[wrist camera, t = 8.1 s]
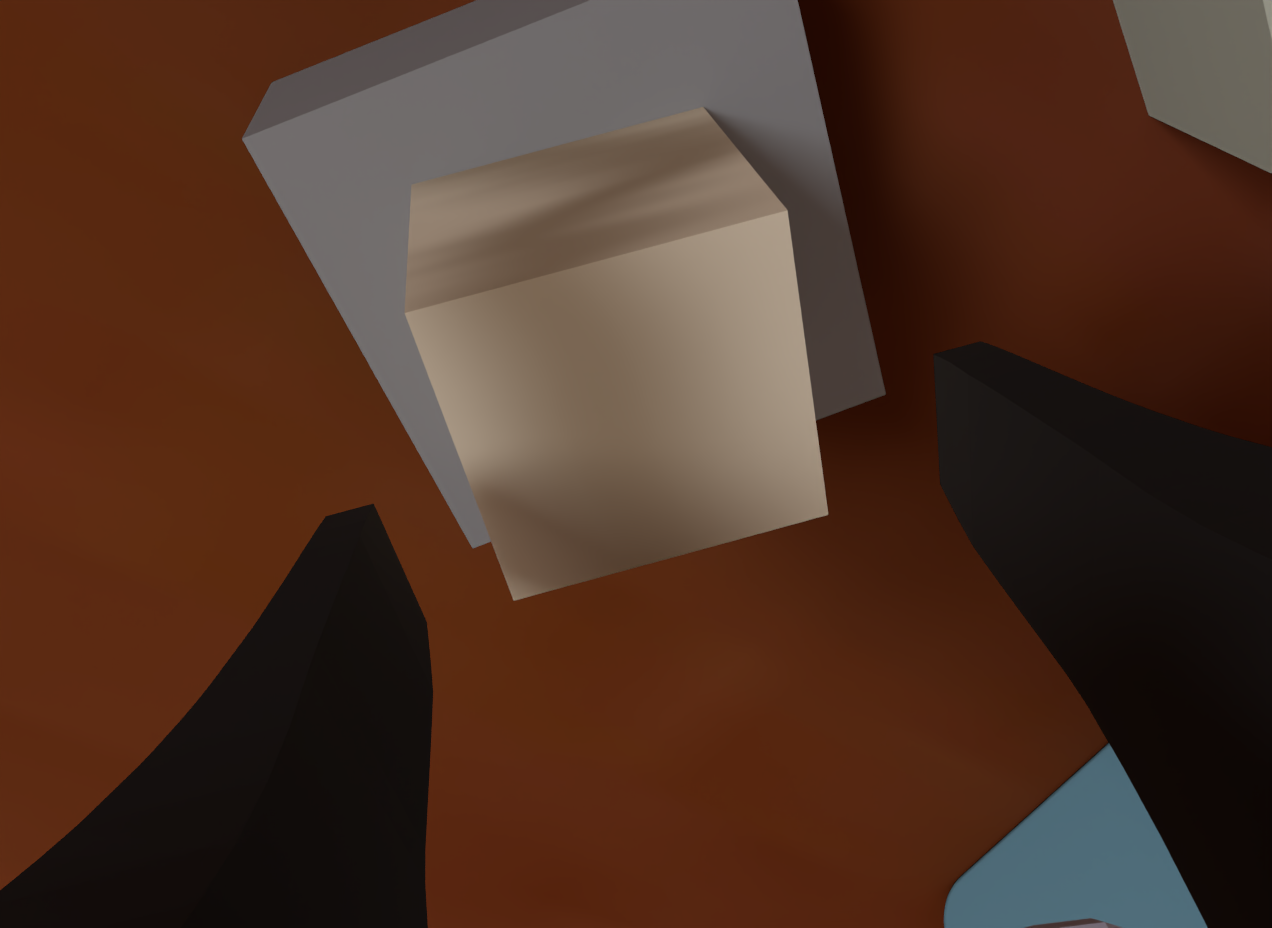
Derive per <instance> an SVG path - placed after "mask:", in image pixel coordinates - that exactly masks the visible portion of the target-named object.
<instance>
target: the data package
mask: <svg viewBox="0 0 1272 928" xmlns="http://www.w3.org/2000/svg"><path fill="white" fill-rule="evenodd" d="M1088 918H1092V919H1096V920H1099V921H1103V922H1106V923H1109V924H1113V925H1116V926H1119V927H1122V928H1207V926H1206V924H1205V922H1204V920H1203V918H1202V916H1201V914H1200V912H1199V910H1198V908H1197V906H1196V904H1195V902H1194V900H1193V898H1192V896H1191V894H1190V892H1189V890H1188V888H1187V886H1186V885H1185V883H1184V881H1183V879H1182V877H1181V875H1180V873H1179V871H1178V869H1177V867H1176V865H1175V863H1174V861H1173V859H1172V857H1171V855H1170V853H1169V851H1168V849H1167V847H1166V846H1165V844H1164V842H1163V840H1162V838H1161V836H1160V834H1159V832H1158V830H1157V829H1156V827H1155V825H1154V823H1153V821H1152V819H1151V818H1150V816H1149V814H1148V812H1147V810H1146V808H1145V807H1144V805H1143V803H1142V801H1141V799H1140V797H1139V796H1138V794H1137V792H1136V790H1135V788H1134V787H1133V785H1132V783H1131V781H1130V779H1129V777H1128V776H1127V774H1126V772H1125V770H1124V768H1123V766H1122V765H1121V763H1120V761H1119V760H1118V758H1117V756H1116V754H1115V753H1114V751H1113V749H1112V747H1111V746H1110V744H1109V743H1108V744H1107V745H1106V746H1105V747H1104V748H1102V749H1101V750H1100V751H1099V752H1098V753H1097V754H1096V755H1095V756H1094V757H1092V758H1091V759H1090V760H1089V761H1088V762H1087V763H1086V764H1085V765H1084V766H1083V767H1081V768H1080V769H1079V770H1078V771H1077V772H1076V773H1075V774H1074V775H1073V776H1071V777H1070V778H1069V779H1068V780H1067V781H1066V782H1065V783H1064V784H1063V785H1061V786H1060V787H1059V788H1058V789H1057V790H1056V791H1055V792H1054V793H1053V794H1052V795H1050V796H1049V797H1048V798H1047V799H1046V800H1045V801H1044V802H1043V803H1042V804H1040V805H1039V806H1038V807H1037V808H1036V809H1035V810H1034V811H1033V812H1032V813H1030V814H1029V815H1028V816H1027V817H1026V818H1025V819H1024V820H1023V821H1022V822H1020V823H1019V824H1018V825H1017V826H1016V827H1015V828H1014V829H1013V830H1012V831H1011V832H1009V833H1008V834H1007V835H1006V836H1005V837H1004V838H1003V839H1002V840H1001V841H999V842H998V843H997V844H996V845H995V846H994V847H993V848H992V849H991V850H989V851H988V852H987V853H986V854H985V855H984V856H983V857H982V858H981V859H980V860H978V861H977V862H976V863H975V864H974V865H973V866H972V867H971V868H970V869H968V870H967V871H966V872H965V873H964V874H963V875H962V876H961V877H960V878H959V879H958V880H957V881H956V882H955V884H954V885H953V887H952V888H951V890H950V892H949V895H948V897H947V900H946V904H945V910H944V927H945V928H1025V927H1029V926H1032V925H1039V924H1047V923H1055V922H1064V921H1072V920H1080V919H1088Z"/></svg>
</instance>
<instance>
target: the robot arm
mask: <svg viewBox="0 0 1272 928" xmlns="http://www.w3.org/2000/svg"><path fill="white" fill-rule="evenodd" d="M933 355H934V374H935V393H936V413H937V432H938V451H939V471H940V485H941V487H942V489H943V491H944V492H945V494H946V496H947V498H948V500H949V502H950V504H951V506H952V508H953V510H954V512H955V514H956V516H957V518H958V520H959V522H960V523H961V525H962V527H963V529H964V531H965V532H966V534H967V536H968V538H969V540H970V542H971V543H972V545H973V547H974V548H975V550H976V551H977V552H978V554H979V555H980V557H981V558H982V560H983V561H984V562H985V564H986V565H987V566H988V568H989V569H990V571H991V572H992V573H993V575H994V576H995V578H996V579H997V580H998V582H999V583H1000V584H1001V586H1002V587H1003V589H1004V590H1005V591H1006V593H1007V594H1008V595H1009V597H1010V598H1011V599H1012V601H1013V602H1014V604H1015V605H1016V606H1017V608H1018V609H1019V610H1020V612H1021V613H1022V614H1023V616H1024V617H1025V618H1026V620H1027V621H1028V623H1029V624H1030V625H1031V627H1032V628H1033V629H1034V631H1035V632H1036V633H1037V635H1038V636H1039V637H1040V639H1041V640H1042V641H1043V643H1044V644H1045V646H1046V647H1047V648H1048V650H1049V651H1050V652H1051V654H1052V655H1053V656H1054V658H1055V659H1056V660H1057V662H1058V663H1059V665H1060V666H1061V667H1062V669H1063V670H1064V671H1065V673H1066V674H1067V676H1068V677H1069V679H1070V680H1071V682H1072V683H1073V685H1074V686H1075V688H1076V689H1077V691H1078V692H1079V694H1080V695H1081V697H1082V698H1083V700H1084V701H1085V703H1086V704H1087V706H1088V708H1089V709H1090V711H1091V713H1092V714H1093V716H1094V718H1095V720H1096V721H1097V723H1098V725H1099V727H1100V728H1101V730H1102V732H1103V734H1104V735H1105V737H1106V739H1107V740H1108V742H1109V744H1110V746H1111V747H1112V749H1113V751H1114V753H1115V754H1116V756H1117V758H1118V760H1119V761H1120V763H1121V765H1122V766H1123V768H1124V770H1125V772H1126V774H1127V776H1128V777H1129V779H1130V781H1131V783H1132V785H1133V787H1134V788H1135V790H1136V792H1137V794H1138V796H1139V797H1140V799H1141V801H1142V803H1143V805H1144V807H1145V808H1146V810H1147V812H1148V814H1149V816H1150V818H1151V819H1152V821H1153V823H1154V825H1155V827H1156V829H1157V830H1158V832H1159V834H1160V836H1161V838H1162V840H1163V842H1164V844H1165V846H1166V847H1167V849H1168V851H1169V853H1170V855H1171V857H1172V859H1173V861H1174V863H1175V865H1176V867H1177V869H1178V871H1179V873H1180V875H1181V877H1182V879H1183V881H1184V883H1185V885H1186V886H1187V888H1188V890H1189V892H1190V894H1191V896H1192V898H1193V900H1194V902H1195V904H1196V906H1197V908H1198V910H1199V912H1200V914H1201V916H1202V918H1203V920H1204V922H1205V924H1206V926H1207V928H1272V447H1268V446H1265V445H1261V444H1257V443H1253V442H1249V441H1246V440H1242V439H1238V438H1234V437H1231V436H1227V435H1224V434H1221V433H1217V432H1214V431H1211V430H1207V429H1204V428H1201V427H1198V426H1195V425H1192V424H1189V423H1186V422H1184V421H1181V420H1178V419H1175V418H1172V417H1169V416H1166V415H1163V414H1160V413H1157V412H1154V411H1152V410H1149V409H1146V408H1144V407H1141V406H1138V405H1136V404H1133V403H1130V402H1128V401H1125V400H1123V399H1120V398H1118V397H1115V396H1112V395H1110V394H1107V393H1105V392H1103V391H1100V390H1098V389H1095V388H1093V387H1090V386H1088V385H1085V384H1083V383H1081V382H1078V381H1076V380H1074V379H1071V378H1069V377H1066V376H1064V375H1062V374H1059V373H1057V372H1055V371H1052V370H1050V369H1048V368H1045V367H1043V366H1041V365H1038V364H1036V363H1034V362H1031V361H1029V360H1027V359H1024V358H1022V357H1020V356H1017V355H1015V354H1013V353H1010V352H1008V351H1005V350H1003V349H1000V348H998V347H995V346H992V345H989V344H987V343H984V342H977V343H973V344H969V345H966V346H962V347H958V348H954V349H951V350H947V351H943V352H939V353H936V354H933ZM432 704H433V686H432V673H431V660H430V650H429V640H428V630H427V622H426V620H425V617H424V615H423V613H422V611H421V608H420V606H419V604H418V602H417V599H416V597H415V595H414V593H413V591H412V588H411V586H410V584H409V582H408V579H407V577H406V575H405V573H404V571H403V568H402V566H401V564H400V562H399V559H398V557H397V555H396V553H395V550H394V548H393V546H392V544H391V542H390V539H389V537H388V535H387V533H386V530H385V528H384V526H383V524H382V521H381V519H380V517H379V515H378V513H377V510H376V508H375V506H374V504H371V505H367V506H363V507H359V508H356V509H352V510H348V511H344V512H341V513H337V514H333V515H329V516H326V517H325V519H324V520H323V521H322V523H321V524H320V526H319V527H318V529H317V530H316V532H315V533H314V535H313V536H312V538H311V539H310V541H309V543H308V544H307V546H306V547H305V549H304V550H303V552H302V553H301V555H300V557H299V558H298V560H297V561H296V563H295V565H294V566H293V568H292V569H291V571H290V572H289V574H288V575H287V577H286V579H285V580H284V582H283V583H282V585H281V586H280V588H279V589H278V591H277V592H276V594H275V595H274V597H273V598H272V600H271V601H270V603H269V604H268V606H267V607H266V609H265V610H264V612H263V613H262V615H261V616H260V618H259V619H258V621H257V622H256V624H255V625H254V626H253V628H252V629H251V631H250V632H249V633H248V635H247V636H246V637H245V639H244V640H243V641H242V643H241V644H240V645H239V647H238V648H237V649H236V651H235V652H234V654H233V655H232V656H231V658H230V659H229V660H228V662H227V663H226V664H225V666H224V667H223V668H222V670H221V671H220V672H219V674H218V675H217V676H216V678H215V679H214V680H213V682H212V683H211V684H210V686H209V687H208V688H207V690H206V691H205V692H204V693H203V694H202V696H201V697H200V698H199V699H198V701H197V702H196V703H195V704H194V705H193V707H192V708H191V709H190V710H189V711H188V713H187V714H186V715H185V716H184V717H183V718H182V720H181V721H180V722H179V723H178V724H177V725H176V726H175V727H174V728H173V730H172V731H171V732H170V733H169V734H168V735H167V736H166V737H165V738H164V740H163V741H162V742H161V743H160V744H159V745H158V746H157V747H156V748H155V750H154V751H153V752H152V753H151V754H150V755H149V756H148V757H147V758H146V759H145V760H144V761H143V762H142V763H141V764H140V765H139V766H138V767H137V768H136V769H135V770H134V771H133V772H132V773H131V774H130V775H129V776H128V777H127V778H126V779H125V780H124V781H123V782H122V783H121V784H120V785H119V786H118V787H117V788H116V789H115V790H114V791H113V792H111V793H110V794H109V795H108V796H107V797H106V798H105V799H104V800H103V801H102V802H101V803H100V804H99V805H98V806H97V807H96V808H95V809H94V810H93V811H92V812H91V813H90V814H89V815H88V816H87V817H86V818H85V819H84V820H83V821H82V822H80V823H79V824H78V825H77V826H76V827H75V828H74V829H73V830H72V831H70V832H69V833H68V834H67V835H66V836H65V837H64V838H62V839H61V840H60V841H59V842H58V843H57V844H56V845H54V846H53V847H52V848H51V849H50V850H49V851H47V852H46V853H45V854H44V855H43V856H42V857H41V858H39V859H38V860H37V861H36V862H35V863H33V864H32V865H31V866H30V867H28V868H27V869H26V870H25V871H24V872H22V873H21V874H20V875H19V876H17V877H16V878H15V879H14V880H13V881H11V882H10V883H9V884H8V885H6V886H5V887H4V888H3V889H2V890H0V928H428V926H427V909H426V891H425V844H426V825H427V806H428V787H429V768H430V749H431V727H432ZM1025 928H1122V927H1119V926H1116V925H1113V924H1109V923H1106V922H1103V921H1099V920H1096V919H1092V918H1088V919H1080V920H1072V921H1064V922H1055V923H1047V924H1039V925H1032V926H1029V927H1025Z"/></svg>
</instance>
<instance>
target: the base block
mask: <svg viewBox="0 0 1272 928" xmlns="http://www.w3.org/2000/svg"><path fill="white" fill-rule="evenodd" d="M701 107H704V109H705V110H706V111H707V112H708V113H709V115H710V116H711V117H712V118H713V120H714V121H715V122H716V123H717V124H718V126H719V127H720V128H721V129H722V131H723V132H724V133H725V134H726V135H727V137H728V138H729V139H730V140H731V142H732V143H733V144H734V145H735V147H736V148H737V149H738V150H739V151H740V153H741V154H742V155H743V156H744V158H745V159H746V160H747V161H748V162H749V164H750V165H751V166H752V167H753V169H754V170H755V171H756V172H757V173H758V175H759V176H760V177H761V178H762V180H763V181H764V182H765V183H766V185H767V186H768V187H769V188H770V189H771V191H772V192H773V193H774V194H775V196H776V197H777V198H778V199H779V200H780V202H781V203H782V204H783V205H784V207H785V208H786V209H787V210H788V218H789V225H790V233H791V240H792V247H793V255H794V262H795V270H796V277H797V285H798V292H799V300H800V307H801V315H802V322H803V329H804V337H805V344H806V352H807V359H808V367H809V374H810V382H811V389H812V397H813V404H814V411H815V419H816V420H819V419H821V418H824V417H827V416H829V415H832V414H835V413H837V412H840V411H843V410H845V409H848V408H851V407H853V406H856V405H859V404H862V403H864V402H867V401H870V400H872V399H875V398H878V397H880V396H883V395H886V393H885V388H884V384H883V379H882V375H881V370H880V366H879V361H878V357H877V352H876V348H875V344H874V339H873V335H872V330H871V326H870V321H869V317H868V312H867V308H866V303H865V299H864V294H863V290H862V286H861V281H860V277H859V272H858V268H857V263H856V259H855V254H854V250H853V245H852V241H851V236H850V232H849V227H848V223H847V219H846V214H845V210H844V205H843V201H842V196H841V192H840V187H839V183H838V178H837V174H836V169H835V165H834V160H833V156H832V152H831V147H830V143H829V138H828V134H827V129H826V125H825V120H824V116H823V111H822V107H821V102H820V98H819V94H818V89H817V85H816V80H815V76H814V71H813V67H812V62H811V58H810V53H809V49H808V44H807V40H806V35H805V31H804V27H803V22H802V18H801V13H800V9H799V4H798V0H477V1H474V2H472V3H469V4H467V5H464V6H462V7H459V8H457V9H454V10H452V11H449V12H447V13H444V14H442V15H439V16H437V17H434V18H432V19H429V20H427V21H424V22H422V23H419V24H417V25H414V26H412V27H409V28H407V29H404V30H402V31H399V32H397V33H394V34H392V35H389V36H387V37H384V38H382V39H379V40H377V41H374V42H372V43H369V44H367V45H364V46H362V47H359V48H357V49H354V50H352V51H349V52H347V53H344V54H342V55H339V56H337V57H334V58H332V59H329V60H327V61H324V62H322V63H319V64H317V65H314V66H312V67H309V68H307V69H304V70H302V71H299V72H297V73H294V74H292V75H289V76H287V77H284V78H282V79H279V80H277V81H274V82H272V83H271V85H270V87H269V89H268V90H267V92H266V94H265V96H264V98H263V100H262V102H261V104H260V106H259V108H258V109H257V111H256V113H255V115H254V117H253V119H252V121H251V123H250V125H249V126H248V128H247V130H246V132H245V134H244V136H243V138H242V140H243V142H244V143H245V145H246V147H247V149H248V150H249V152H250V154H251V156H252V157H253V159H254V161H255V163H256V165H257V166H258V168H259V170H260V172H261V173H262V175H263V177H264V179H265V181H266V182H267V184H268V186H269V188H270V189H271V191H272V193H273V195H274V197H275V198H276V200H277V202H278V204H279V205H280V207H281V209H282V211H283V213H284V214H285V216H286V218H287V220H288V221H289V223H290V225H291V227H292V229H293V230H294V232H295V234H296V236H297V237H298V239H299V241H300V243H301V244H302V246H303V248H304V250H305V252H306V253H307V255H308V257H309V259H310V260H311V262H312V264H313V266H314V268H315V269H316V271H317V273H318V275H319V276H320V278H321V280H322V282H323V284H324V285H325V287H326V289H327V291H328V292H329V294H330V296H331V298H332V300H333V301H334V303H335V305H336V307H337V308H338V310H339V312H340V314H341V316H342V317H343V319H344V321H345V323H346V324H347V326H348V328H349V330H350V331H351V333H352V335H353V337H354V339H355V340H356V342H357V344H358V346H359V347H360V349H361V351H362V353H363V355H364V356H365V358H366V360H367V362H368V363H369V365H370V367H371V369H372V371H373V372H374V374H375V376H376V378H377V379H378V381H379V383H380V385H381V387H382V388H383V390H384V392H385V394H386V395H387V397H388V399H389V401H390V403H391V404H392V406H393V408H394V410H395V411H396V413H397V415H398V417H399V419H400V420H401V422H402V424H403V426H404V427H405V429H406V431H407V433H408V434H409V436H410V438H411V440H412V442H413V443H414V445H415V447H416V449H417V450H418V452H419V454H420V456H421V458H422V459H423V461H424V463H425V465H426V466H427V468H428V470H429V472H430V474H431V475H432V477H433V479H434V481H435V482H436V484H437V486H438V488H439V490H440V491H441V493H442V495H443V497H444V498H445V500H446V502H447V504H448V506H449V507H450V509H451V511H452V513H453V514H454V516H455V518H456V520H457V521H458V523H459V525H460V527H461V529H462V530H463V532H464V534H465V536H466V537H467V539H468V541H469V543H470V545H471V546H472V548H475V547H478V546H480V545H483V544H486V543H488V542H491V540H490V537H489V534H488V532H487V529H486V526H485V524H484V521H483V518H482V516H481V513H480V511H479V508H478V505H477V503H476V500H475V497H474V495H473V492H472V490H471V487H470V484H469V482H468V479H467V476H466V474H465V471H464V468H463V466H462V463H461V461H460V458H459V455H458V453H457V450H456V447H455V445H454V442H453V440H452V437H451V434H450V432H449V429H448V426H447V424H446V421H445V418H444V416H443V413H442V411H441V408H440V405H439V403H438V400H437V397H436V395H435V392H434V389H433V387H432V384H431V382H430V379H429V376H428V374H427V371H426V368H425V366H424V363H423V361H422V358H421V355H420V353H419V350H418V347H417V345H416V342H415V339H414V337H413V334H412V332H411V329H410V326H409V324H408V321H407V318H406V316H405V295H406V276H407V258H408V239H409V221H410V202H411V185H412V184H416V183H419V182H423V181H427V180H431V179H434V178H438V177H442V176H446V175H449V174H453V173H457V172H461V171H464V170H468V169H472V168H476V167H479V166H483V165H487V164H491V163H494V162H498V161H502V160H506V159H509V158H513V157H517V156H521V155H524V154H528V153H532V152H536V151H539V150H543V149H547V148H551V147H554V146H558V145H562V144H566V143H569V142H573V141H577V140H581V139H584V138H588V137H592V136H596V135H599V134H603V133H607V132H611V131H614V130H618V129H622V128H626V127H629V126H633V125H637V124H641V123H644V122H648V121H652V120H656V119H659V118H663V117H667V116H671V115H674V114H678V113H682V112H686V111H689V110H693V109H697V108H701Z"/></svg>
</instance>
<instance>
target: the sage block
mask: <svg viewBox="0 0 1272 928" xmlns="http://www.w3.org/2000/svg"><path fill="white" fill-rule="evenodd" d="M1113 2H1114V5H1115V9H1116V12H1117V15H1118V18H1119V21H1120V25H1121V28H1122V31H1123V34H1124V37H1125V41H1126V44H1127V47H1128V50H1129V53H1130V57H1131V60H1132V63H1133V66H1134V69H1135V73H1136V76H1137V79H1138V82H1139V86H1140V89H1141V92H1142V95H1143V98H1144V102H1145V105H1146V108H1147V111H1148V114H1149V116H1151V117H1153V118H1155V119H1158V120H1160V121H1162V122H1164V123H1166V124H1168V125H1170V126H1172V127H1174V128H1177V129H1179V130H1181V131H1183V132H1185V133H1187V134H1189V135H1191V136H1193V137H1196V138H1198V139H1200V140H1202V141H1204V142H1206V143H1208V144H1210V145H1212V146H1215V147H1217V148H1219V149H1221V150H1223V151H1225V152H1227V153H1229V154H1231V155H1234V156H1236V157H1238V158H1240V159H1242V160H1244V161H1246V162H1248V163H1250V164H1253V165H1255V166H1257V167H1259V168H1261V169H1263V170H1265V171H1267V172H1269V173H1272V0H1113Z"/></svg>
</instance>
